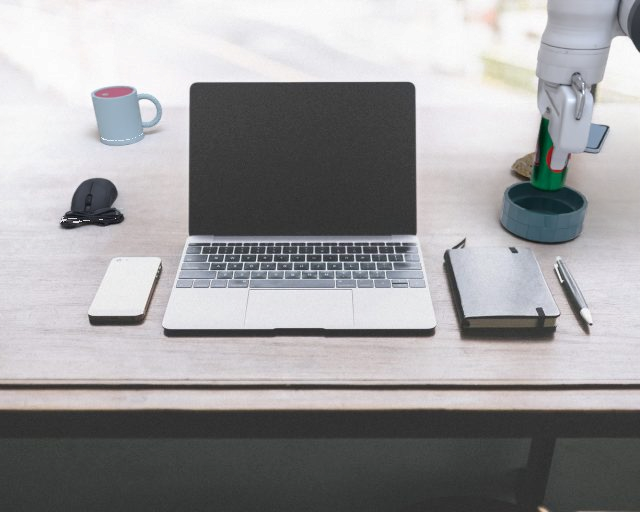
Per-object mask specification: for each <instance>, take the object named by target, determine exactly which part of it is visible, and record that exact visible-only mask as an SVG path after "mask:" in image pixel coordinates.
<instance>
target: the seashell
mask: <svg viewBox="0 0 640 512" xmlns="http://www.w3.org/2000/svg"><path fill="white" fill-rule="evenodd" d="M534 154H535V151H533V152H530V153H527V154H526V155H524V156H522V157H520V158H517V159H515V162H514V163H513V164H512V165H511V169H512V170H513V171H514V172H516V173H518V174H519V175H520V176H524V177H526V178H528V179H530V177H531V171H532V165H533V160H534Z"/></svg>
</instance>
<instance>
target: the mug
mask: <svg viewBox="0 0 640 512" xmlns="http://www.w3.org/2000/svg"><path fill="white" fill-rule="evenodd" d="M90 96H91V101H92V106H93V111H94V116H95V120H96V124H97V129H98V134H99V139H100V142H101V143H102V144H103V145H106V146H116V147H117V146H128V145H133V144H135V143H138V142H140V141H142V140H143V139H144V138H145V131H144V132H143V130H144V129H145V128H146V129H148V128H152V127H155V126H157V124H159V122H160V120H161V119H162V117H163V108H162V104H161V103H160V101H159V100H158V99H157V97H155V96H154V95H152V94H150V93H145V92H144V93H143V92H142V93H138V91H137V87H134V86H131V85H109V86H104V87H100V88H97V89H95V90H93V91H92V92H90ZM141 100H148V101H150V102H151V103H152V104H153V105H154V106H155V109H156V115H155V117H154V118H153V119H152V120H150V121H146V122H145V121H143V120H142V114H141V113H142V112H141V109H140V102H139V101H141ZM142 133H143V134H142ZM141 134H142V135H141ZM139 135H140V136H139ZM100 136H101V137H102V138H104V139H107V140H114V141H107V140H103V139H102V138H100ZM135 137H136V138H135ZM132 138H133V139H132ZM126 139H130V140H126ZM115 140H117V141H115ZM118 140H124V141H118Z"/></svg>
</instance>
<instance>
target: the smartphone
mask: <svg viewBox="0 0 640 512" xmlns="http://www.w3.org/2000/svg"><path fill="white" fill-rule="evenodd" d="M610 129H611V126H610V125H607V124H606V125H605V124H602V123H601V124H600V123H594V122H593V123H592V122H591V125H590V131H589V136H588V142H587V146H586V148H585V150H584V151H583V152H588V153H592V154H593V153H594V154H596V153H600V151H601V149H602V147H603V145H604V142H606V141H605V140H606V138H607V136H608V135H609V132H610Z"/></svg>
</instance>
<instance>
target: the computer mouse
mask: <svg viewBox="0 0 640 512" xmlns="http://www.w3.org/2000/svg"><path fill="white" fill-rule="evenodd" d="M118 195H119V194H118V189H117V187H116V185H115V184H114V182H113V181H111V180H109V179H108V178H103V177H93V178H88V179H86V180H83V181H82V182H81V183H80V184H79V185H78V187H77V188H76V189H75V190H74V193H73V195H72V198H71V203H70V210H68V211H66V212H65V213H64V215H63V216H62V217H64V218H63V219H67V220H66V221H64V222H63V221H62V222H61V223H60V222H59V225H60V227H63V228H70V227H74V226H78V225H82V224H85V223H88V224H92V223H93V224H95V225H97V226H101V227H106V226H109V225H111V224H116V223H121V222H123V221H124V219H125V214H124V213H125V212H124V209H125V208H124V207H121V208H116V207H111V206H112V204H113V203H114V201H115V200H116V199H117V197H118ZM68 218H77V219H68ZM115 218H116V219H115ZM99 219H103V220H99ZM60 220H62V218H61V219H60ZM79 220H80V221H82V222H79V223H71V222H73V221H79ZM83 220H90V221H83Z"/></svg>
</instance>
